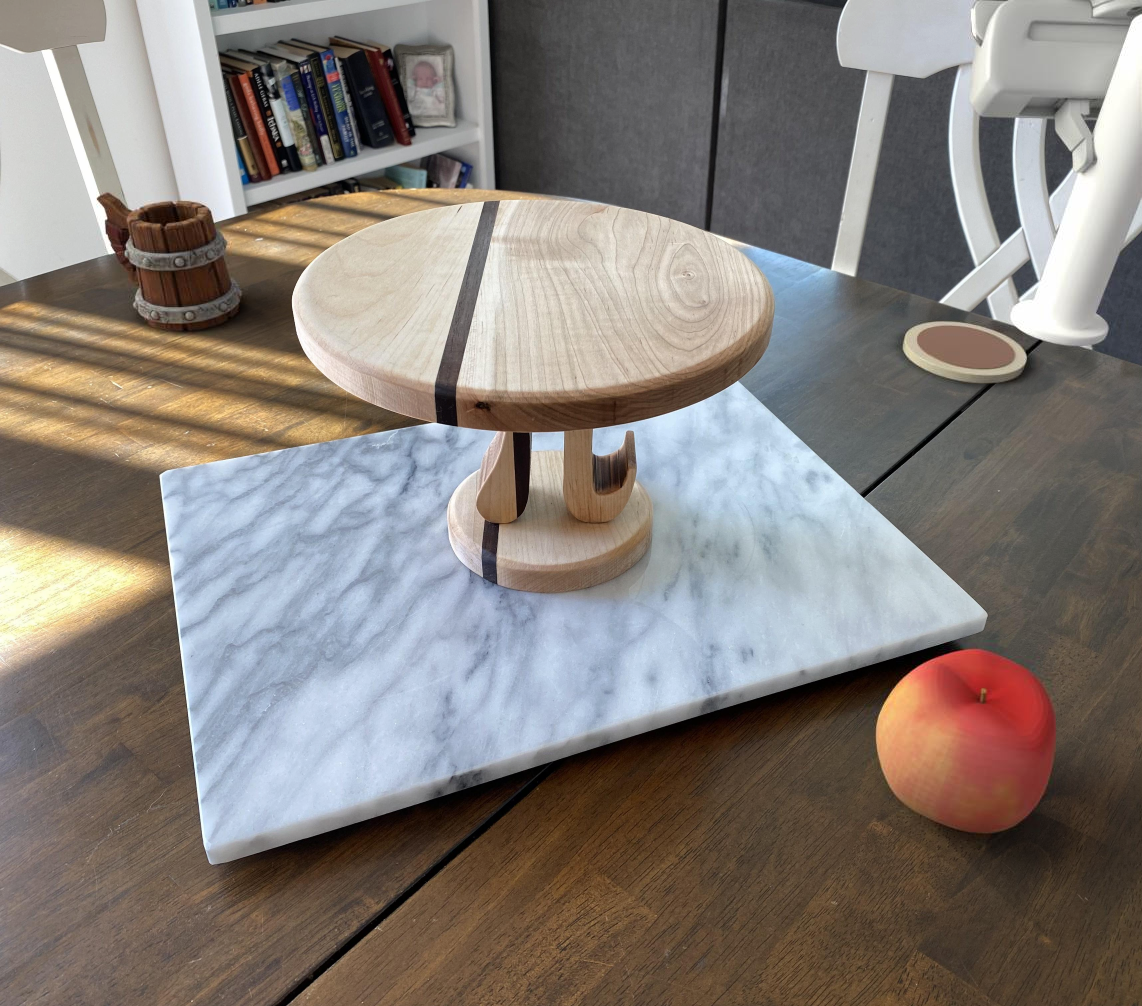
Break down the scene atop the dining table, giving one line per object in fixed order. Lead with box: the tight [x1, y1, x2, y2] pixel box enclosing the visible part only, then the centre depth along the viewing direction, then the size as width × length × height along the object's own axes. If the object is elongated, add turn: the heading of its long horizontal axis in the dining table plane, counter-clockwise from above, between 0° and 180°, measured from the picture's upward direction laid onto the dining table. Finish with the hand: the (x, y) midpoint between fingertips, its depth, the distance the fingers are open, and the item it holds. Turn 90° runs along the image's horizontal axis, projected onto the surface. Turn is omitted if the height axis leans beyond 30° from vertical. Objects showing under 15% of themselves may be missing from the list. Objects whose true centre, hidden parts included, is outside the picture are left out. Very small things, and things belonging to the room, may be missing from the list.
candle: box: [1010, 14, 1142, 347], centre depth 66 cm, size 7×7×25 cm
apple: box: [875, 648, 1057, 834], centre depth 54 cm, size 10×10×10 cm
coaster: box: [902, 320, 1028, 384], centre depth 105 cm, size 13×13×1 cm
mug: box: [96, 191, 243, 332], centre depth 106 cm, size 12×14×15 cm
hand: (1122, 170), depth 66 cm, fingers closed on candle, 3 cm apart
